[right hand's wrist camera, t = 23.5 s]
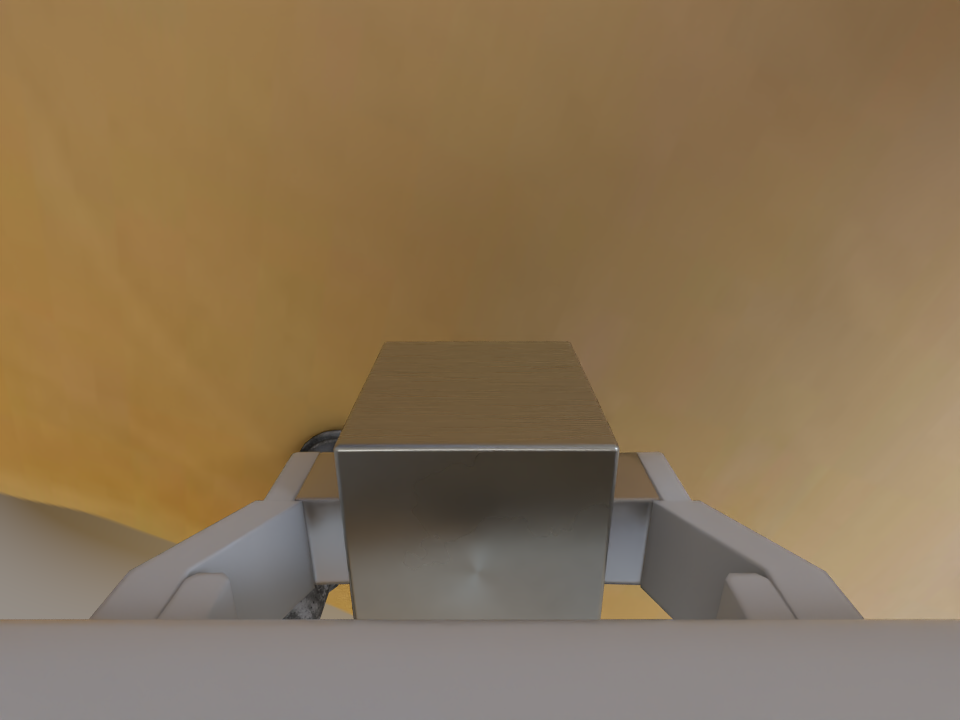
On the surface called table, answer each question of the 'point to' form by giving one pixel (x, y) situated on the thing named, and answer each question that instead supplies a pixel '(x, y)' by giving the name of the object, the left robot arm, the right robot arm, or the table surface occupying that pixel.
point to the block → (476, 484)
